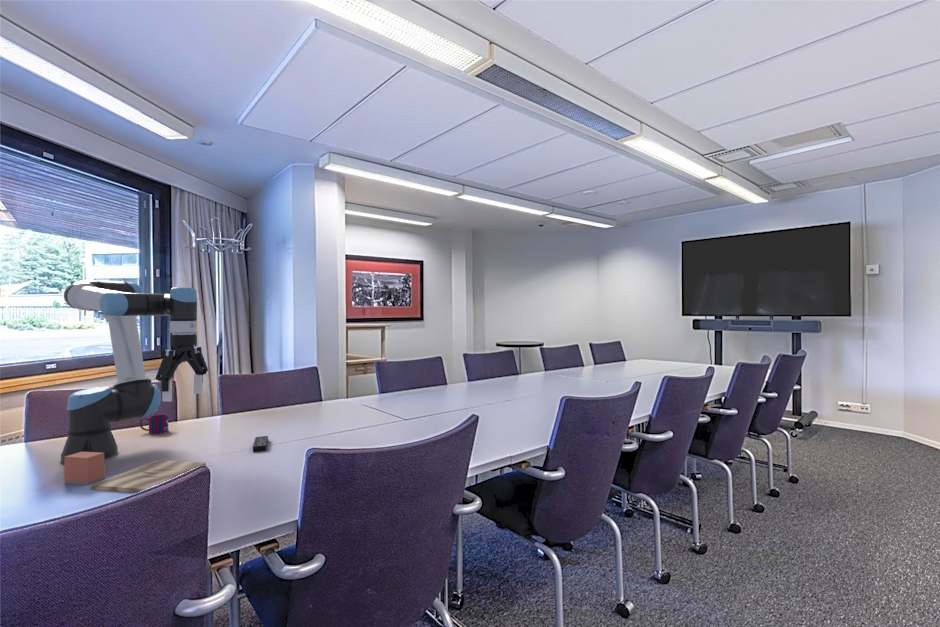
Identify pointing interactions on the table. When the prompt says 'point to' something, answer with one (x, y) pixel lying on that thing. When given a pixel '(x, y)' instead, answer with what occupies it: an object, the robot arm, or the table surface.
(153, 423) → the mug
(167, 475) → the board
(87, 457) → the block
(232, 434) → the table surface
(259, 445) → the multiport hub
